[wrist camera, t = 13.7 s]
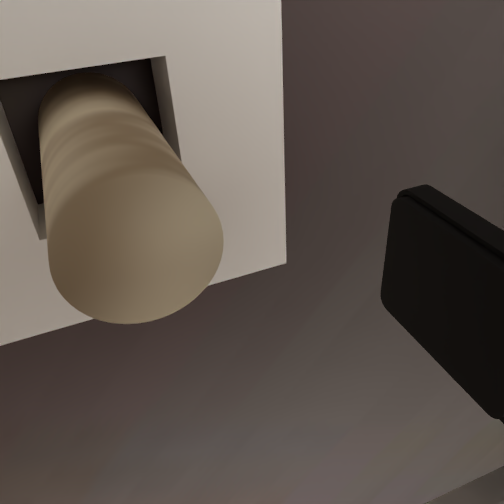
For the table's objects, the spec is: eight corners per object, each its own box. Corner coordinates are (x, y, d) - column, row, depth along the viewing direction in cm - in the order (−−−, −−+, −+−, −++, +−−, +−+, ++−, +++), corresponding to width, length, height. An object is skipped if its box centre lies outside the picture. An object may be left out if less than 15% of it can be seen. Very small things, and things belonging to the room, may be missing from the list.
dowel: (157, 92, 19) (247, 198, 11) (128, 182, 21) (191, 329, 13) (51, 55, 17) (74, 153, 9) (27, 158, 19) (30, 316, 11)
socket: (243, -105, 17) (278, -111, 14) (261, 232, 25) (286, 263, 22) (-240, -79, 13) (-299, -82, 11) (-34, 310, 21) (-41, 357, 18)
